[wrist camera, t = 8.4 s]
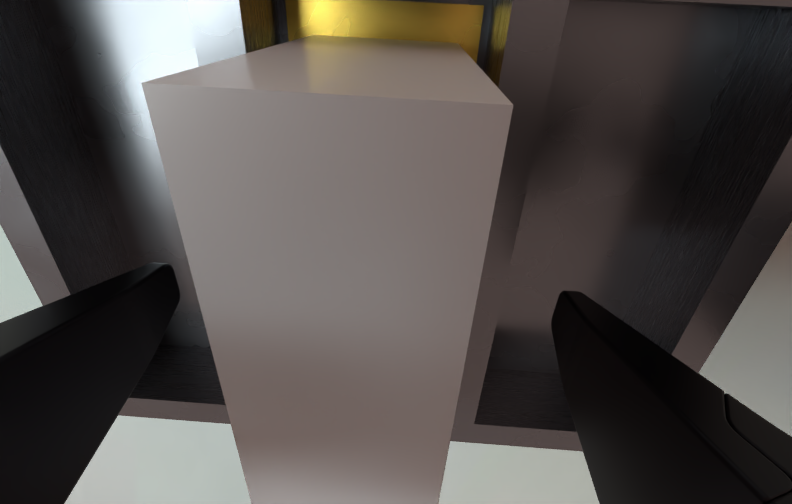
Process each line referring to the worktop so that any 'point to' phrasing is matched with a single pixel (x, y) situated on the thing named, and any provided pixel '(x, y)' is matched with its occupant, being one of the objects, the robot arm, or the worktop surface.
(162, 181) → the grey divided tray
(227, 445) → the worktop surface
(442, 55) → the tall white block
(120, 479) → the worktop surface
